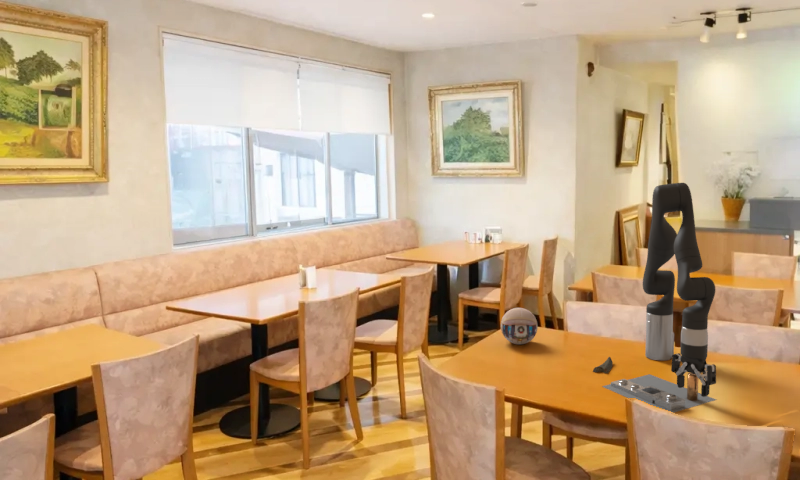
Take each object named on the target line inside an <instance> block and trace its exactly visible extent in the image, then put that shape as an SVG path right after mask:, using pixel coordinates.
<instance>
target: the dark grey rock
mask: <svg viewBox="0 0 800 480" xmlns="http://www.w3.org/2000/svg"><path fill="white" fill-rule="evenodd" d="M613 363H614V362H613V360H612V358H611V356H608V357H607V359H606V360H605V361H604V362H603V363H601V364H599V365H598V366H594V368H593V370H592V373H603V374H609V373H610V372H611V370H612V369H613Z"/></svg>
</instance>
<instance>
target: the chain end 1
mask: <svg viewBox="0 0 800 480" xmlns="http://www.w3.org/2000/svg"><path fill="white" fill-rule="evenodd" d="M628 380H629V379H626V378H622V379H618V380H614V381H611V382H610V384H611V386H613V387H615V388H618V389H620V390H622V391H625V392H627V393H629V394H632V395H634V396H636V397H639V398H641V399H643V400H646V401H648V402H650V403H655V401H654V400H652V399H650V398H647V397H645V396H643V395H640V394H638V393H636V389H639V388H643V386H641V385H638V384H636V383H633V382H631V381H628ZM647 393H650V394H655V392H653V391H648V392H647Z"/></svg>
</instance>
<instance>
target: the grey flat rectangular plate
mask: <svg viewBox="0 0 800 480" xmlns="http://www.w3.org/2000/svg"><path fill="white" fill-rule="evenodd" d="M627 380H628V381H631V382H633V383H636V384H638V385H641V386H643V387H647V386H652V387H655V388H657V389H660V390H662V391H665V392H667V393H670V394H673V395H676V396H677V397H680V398H682V399H685V407H684V408H680V409H677V410H674V411H671V412H673V413H672V414H674V413H677V412H680V411H684V410H688V409H691V408H694V407H697V406H701V405H704V404H708V403H711V402H714V401H717V399H716V398H713V397H712V396H711V397H710V396H709V395H708V396H705V397H703V396H701V393H700V392H698V400H697V401H690V400H688V399H687V388H686V387H685V386H684V387H682V388H679V387H678V385H677V383H674V382H671V381H668V380H666V379H663V378H660V377H658V376H655V375H652V374H645V375H641V376H638V377H633V378H630V379H627ZM601 387H602V388H604V389H607V390H609V391H611V392H613V393H616V394H618V395H620V396H622V397H625V398H626V399H627V398H628V399H629V398H636V399H638V400H641V401H644V402H646V403H648V404H650V405H653V406H656V407H659V408H662V407H660V406H657V405H655V403H650V402H648V401H646V400H643V399H641V398H639V397H636V396H634V395H632V394H629V393H627V392H625V391H622V390H620V389H618V388H615V387H613V386H611V383H610V384H607V385H606V384H605V385H602V386H601ZM662 409H664V408H662ZM665 410H667V409H665ZM668 411H669V410H668Z"/></svg>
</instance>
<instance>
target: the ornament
mask: <svg viewBox="0 0 800 480" xmlns="http://www.w3.org/2000/svg"><path fill="white" fill-rule="evenodd" d="M536 318H537V317H536V316H535V315H534V314H533V313H532V312H531V311H530V310H529V309H528V308H527V309H526V308H523V307H514V308H511V309H510V310H507V311H506V312H505V313H504V315H503V316H502V318H501V321H500V331H501V333H502V335H503V337H504V338H505V339H506V341H508V342H510V343H511V344H514V345H524V344H525V345H526V344H528V343H529V342H531V341H533V339H534V338H535V337H536V335H537V332H538V321H537V319H536Z"/></svg>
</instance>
